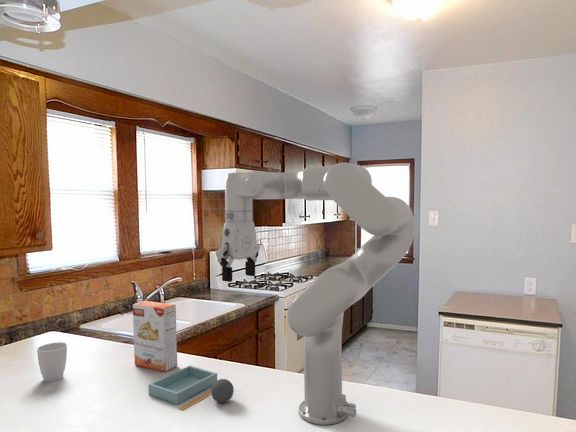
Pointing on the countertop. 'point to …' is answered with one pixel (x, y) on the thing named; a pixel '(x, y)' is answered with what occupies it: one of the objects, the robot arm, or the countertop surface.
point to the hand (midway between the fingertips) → (239, 278)
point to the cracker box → (155, 335)
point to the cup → (52, 360)
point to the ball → (222, 390)
